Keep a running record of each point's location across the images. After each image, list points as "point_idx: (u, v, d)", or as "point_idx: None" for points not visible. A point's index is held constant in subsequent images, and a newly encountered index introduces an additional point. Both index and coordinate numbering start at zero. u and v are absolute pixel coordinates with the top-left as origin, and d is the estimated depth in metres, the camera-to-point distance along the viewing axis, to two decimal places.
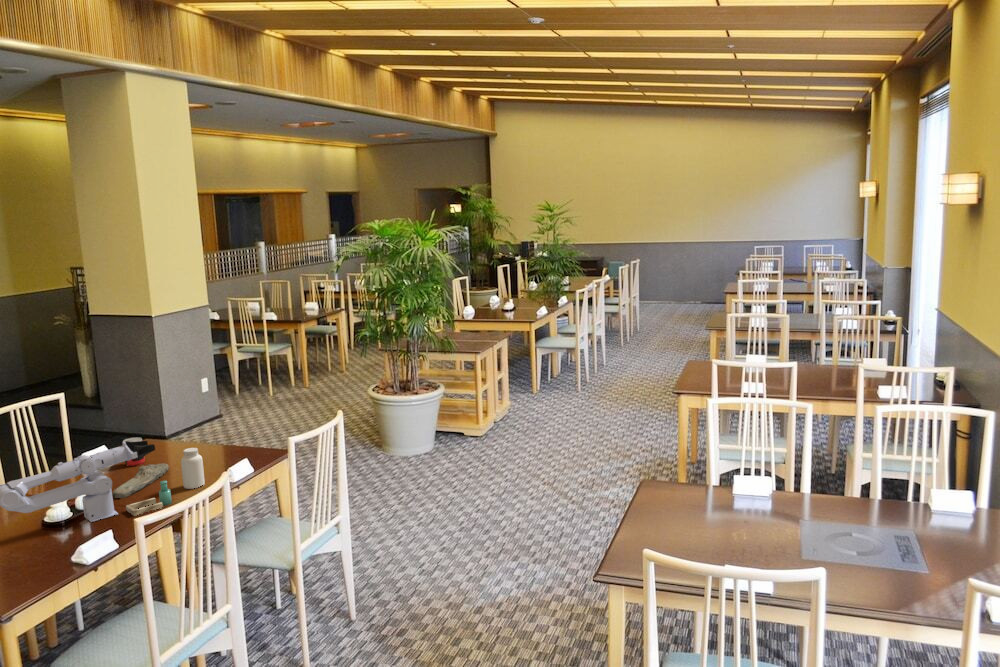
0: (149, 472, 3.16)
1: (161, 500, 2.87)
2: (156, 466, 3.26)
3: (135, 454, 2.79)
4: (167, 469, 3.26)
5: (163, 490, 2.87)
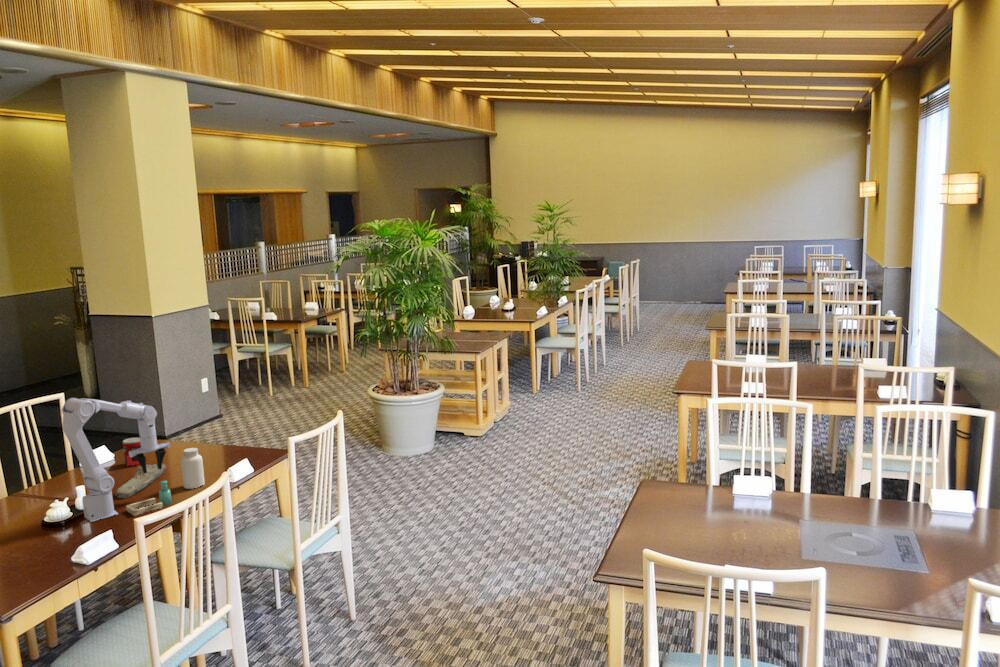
0: (148, 472, 3.16)
1: (161, 500, 2.87)
2: (153, 466, 3.26)
3: None
4: None
5: (163, 490, 2.87)
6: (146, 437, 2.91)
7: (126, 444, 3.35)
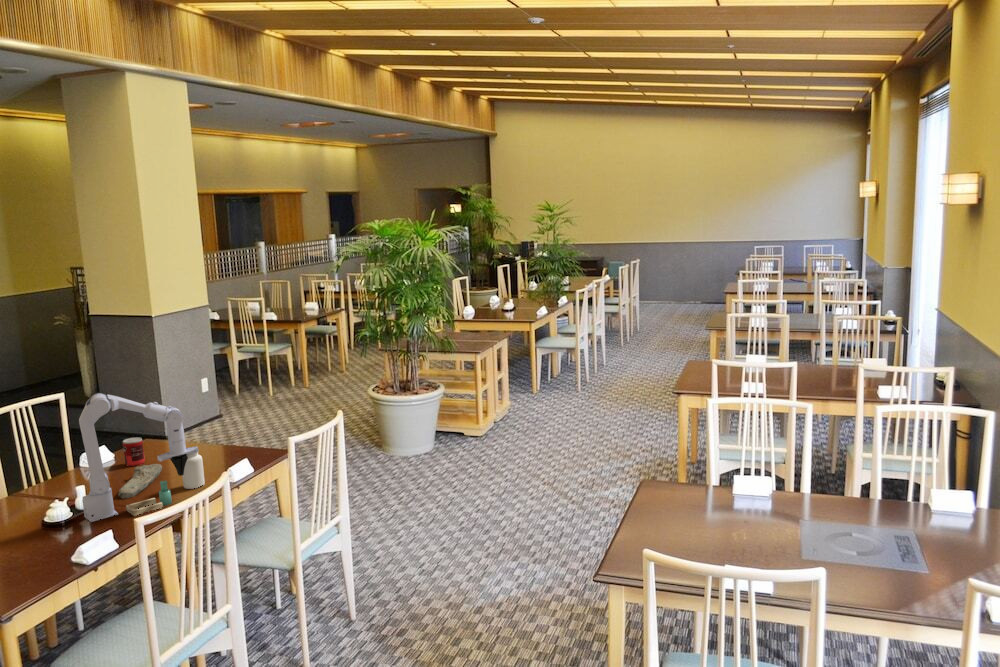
0: (148, 472, 3.16)
1: (161, 500, 2.87)
2: (150, 466, 3.26)
3: None
4: None
5: (163, 490, 2.87)
6: (171, 441, 2.87)
7: (126, 444, 3.35)
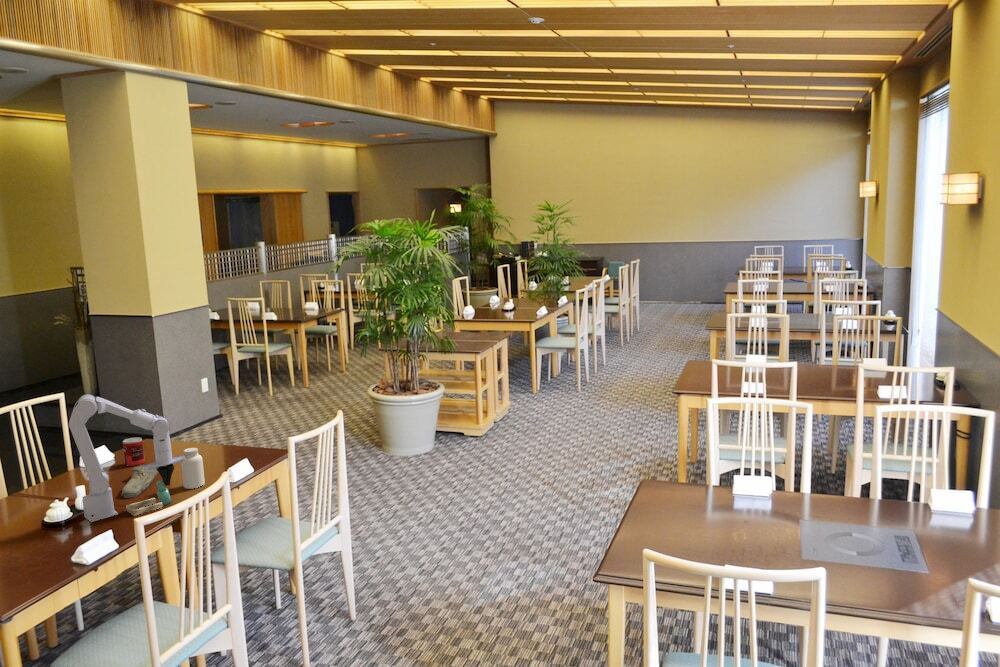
0: (147, 472, 3.16)
1: (160, 500, 2.87)
2: None
3: None
4: None
5: (161, 490, 2.87)
6: (157, 451, 2.84)
7: (126, 444, 3.35)
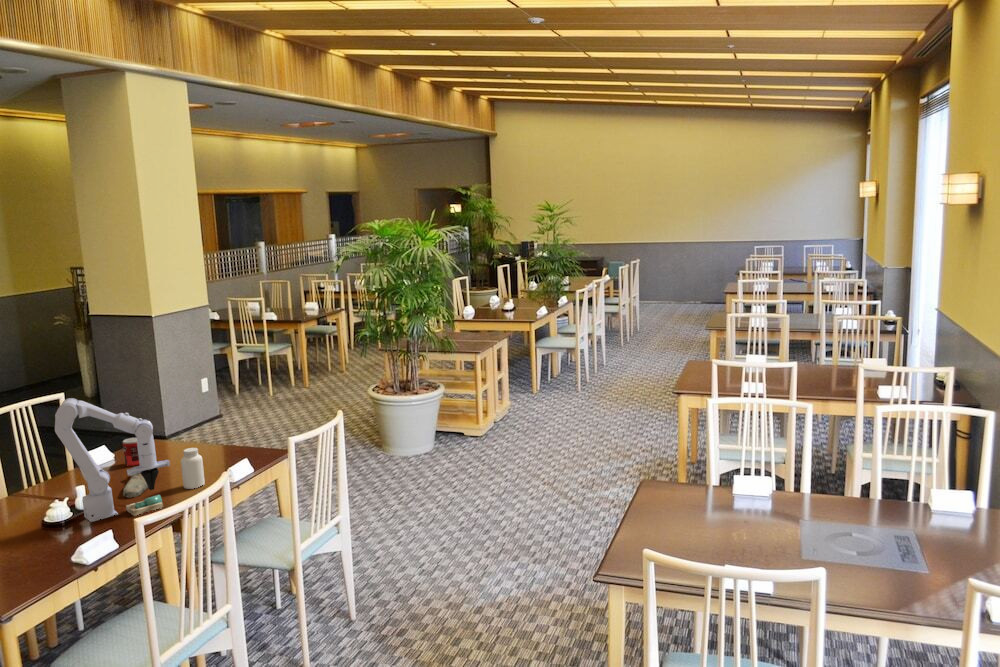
0: None
1: None
2: None
3: None
4: None
5: (145, 506, 2.83)
6: (140, 455, 2.80)
7: (126, 444, 3.35)
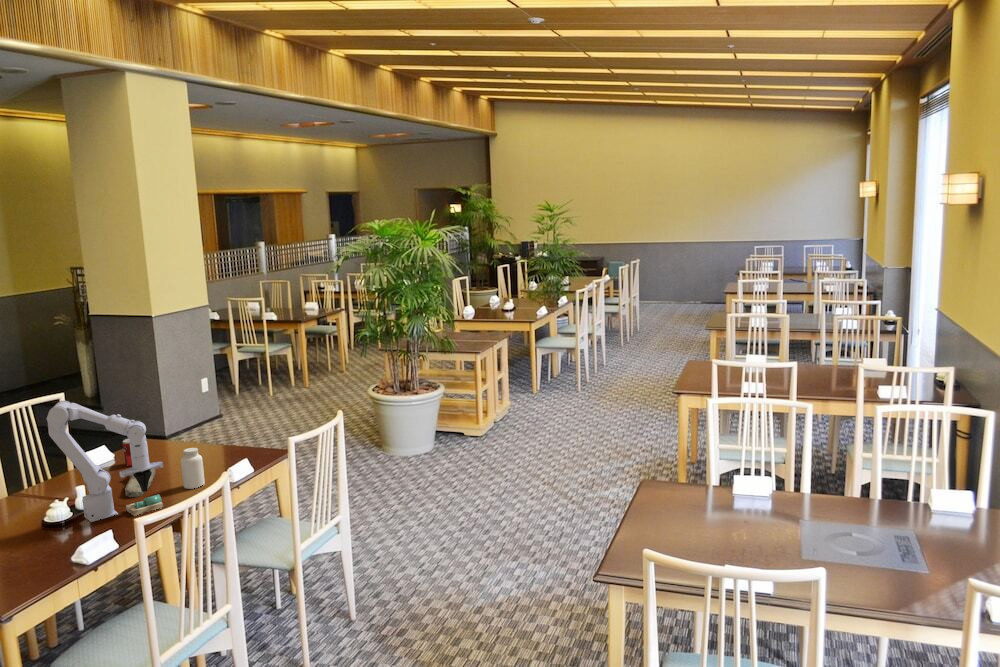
0: None
1: None
2: None
3: None
4: None
5: (145, 505, 2.83)
6: (133, 456, 2.79)
7: (126, 444, 3.35)
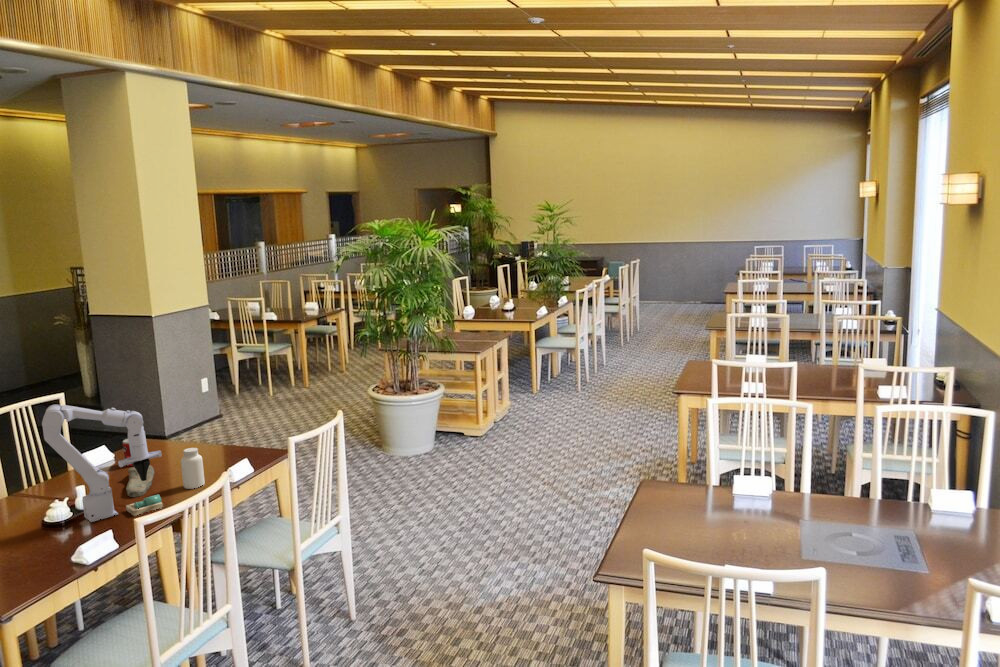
0: None
1: None
2: None
3: None
4: (153, 469, 3.27)
5: (145, 505, 2.84)
6: (132, 446, 2.80)
7: (126, 444, 3.35)
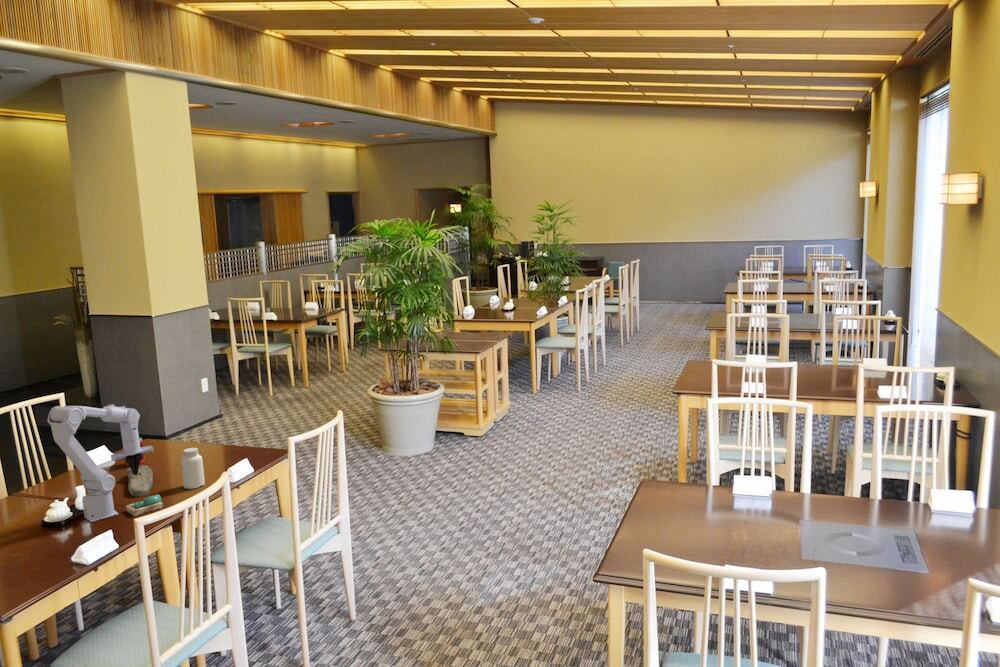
0: (144, 472, 3.16)
1: None
2: None
3: None
4: None
5: (145, 505, 2.84)
6: (130, 440, 2.88)
7: None
